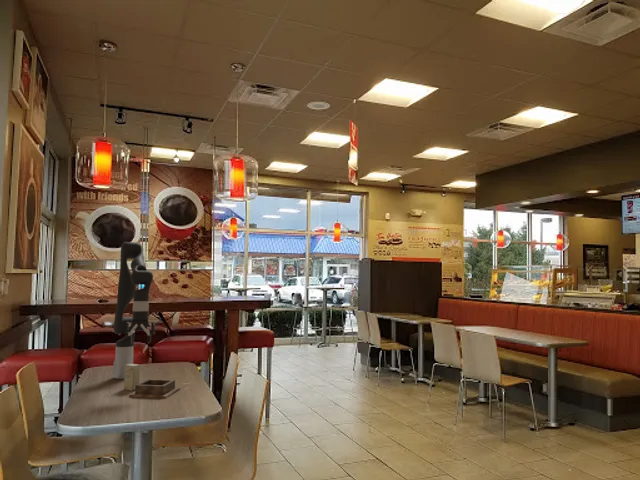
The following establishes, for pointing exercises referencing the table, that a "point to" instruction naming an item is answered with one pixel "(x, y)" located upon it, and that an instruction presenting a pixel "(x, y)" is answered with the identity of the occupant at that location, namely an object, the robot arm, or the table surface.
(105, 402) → the table surface
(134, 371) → the skincare box
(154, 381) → the brown wooden tray
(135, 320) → the robot arm
